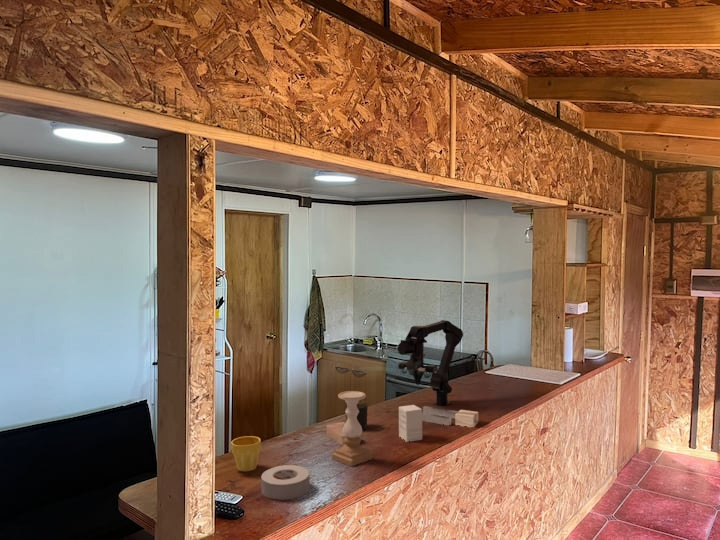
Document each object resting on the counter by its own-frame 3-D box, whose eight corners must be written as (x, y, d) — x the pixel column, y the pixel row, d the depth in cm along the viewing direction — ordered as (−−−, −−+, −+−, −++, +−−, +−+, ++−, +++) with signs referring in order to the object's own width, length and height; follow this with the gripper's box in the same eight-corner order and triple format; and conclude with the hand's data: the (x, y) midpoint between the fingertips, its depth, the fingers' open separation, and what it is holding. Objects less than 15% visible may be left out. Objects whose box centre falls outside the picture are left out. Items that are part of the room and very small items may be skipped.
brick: (361, 444, 218) (361, 432, 218) (342, 447, 215) (342, 435, 215) (344, 432, 233) (343, 421, 233) (325, 435, 229) (325, 424, 229)
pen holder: (353, 432, 231) (353, 409, 231) (341, 427, 239) (341, 404, 239) (371, 428, 236) (371, 405, 236) (359, 423, 244) (359, 400, 244)
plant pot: (225, 468, 194) (225, 440, 193) (250, 460, 201) (250, 433, 201) (241, 476, 186) (241, 447, 186) (267, 468, 194) (266, 440, 193)
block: (460, 420, 248) (460, 409, 248) (478, 423, 244) (478, 412, 244) (455, 425, 241) (455, 414, 241) (473, 428, 237) (473, 416, 237)
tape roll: (275, 504, 166) (275, 488, 165) (253, 487, 178) (253, 472, 178) (318, 491, 175) (318, 475, 174) (295, 476, 187) (294, 461, 187)
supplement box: (414, 434, 229) (414, 404, 228) (422, 440, 222) (422, 409, 221) (398, 436, 226) (398, 406, 226) (406, 442, 219) (406, 411, 219)
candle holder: (373, 458, 202) (373, 394, 201) (351, 466, 194) (351, 399, 194) (352, 451, 210) (352, 389, 209) (331, 458, 202) (330, 394, 201)
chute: (424, 412, 260) (424, 406, 260) (460, 418, 251) (460, 411, 251) (412, 419, 250) (412, 412, 250) (449, 425, 240) (449, 418, 240)
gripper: (392, 353, 263) (392, 385, 263) (428, 357, 253) (428, 390, 253) (403, 349, 272) (403, 381, 273) (438, 353, 262) (438, 385, 263)
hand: (417, 384), depth 265 cm, fingers closed
